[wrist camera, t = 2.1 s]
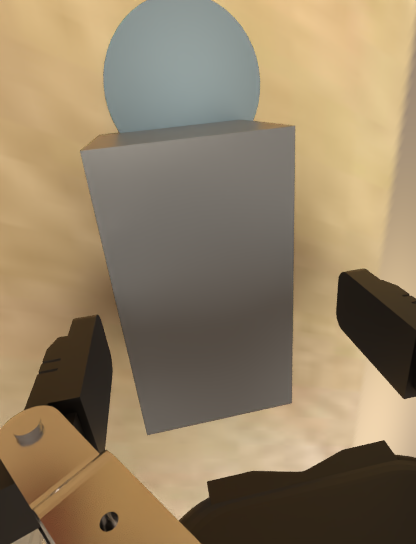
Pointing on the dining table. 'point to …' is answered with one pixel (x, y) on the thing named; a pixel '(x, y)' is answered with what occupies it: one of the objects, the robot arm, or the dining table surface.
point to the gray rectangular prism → (200, 264)
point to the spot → (180, 67)
